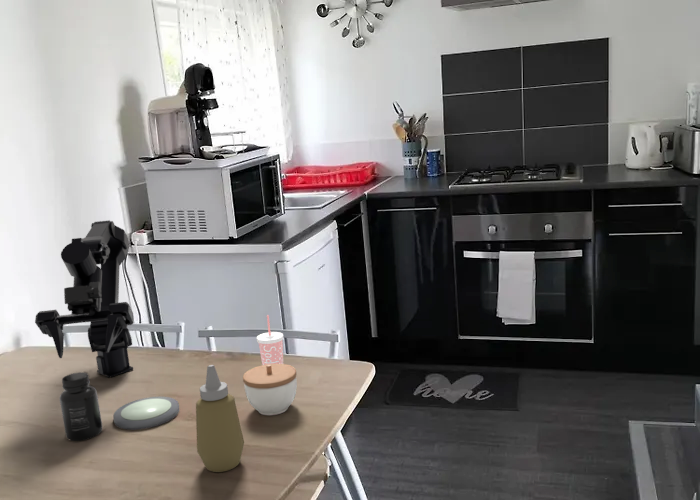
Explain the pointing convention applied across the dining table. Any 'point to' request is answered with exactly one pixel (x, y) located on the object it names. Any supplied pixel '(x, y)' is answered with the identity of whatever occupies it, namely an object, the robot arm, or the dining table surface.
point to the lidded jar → (270, 387)
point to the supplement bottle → (80, 407)
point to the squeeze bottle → (218, 425)
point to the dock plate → (146, 413)
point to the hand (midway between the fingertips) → (83, 354)
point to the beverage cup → (271, 346)
